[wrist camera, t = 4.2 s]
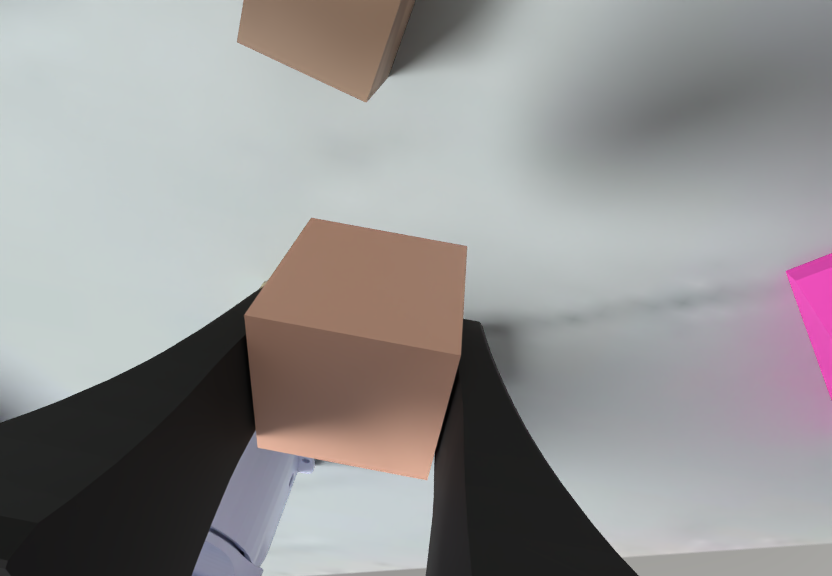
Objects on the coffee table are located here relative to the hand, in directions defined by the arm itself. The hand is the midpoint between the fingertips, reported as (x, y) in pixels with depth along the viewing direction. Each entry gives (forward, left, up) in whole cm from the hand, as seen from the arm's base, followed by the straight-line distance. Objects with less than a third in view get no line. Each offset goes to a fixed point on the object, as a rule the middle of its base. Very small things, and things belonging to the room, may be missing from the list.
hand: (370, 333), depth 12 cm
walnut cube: (+7, +3, -10) cm, 12 cm away
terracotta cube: (0, 0, -2) cm, 2 cm away
